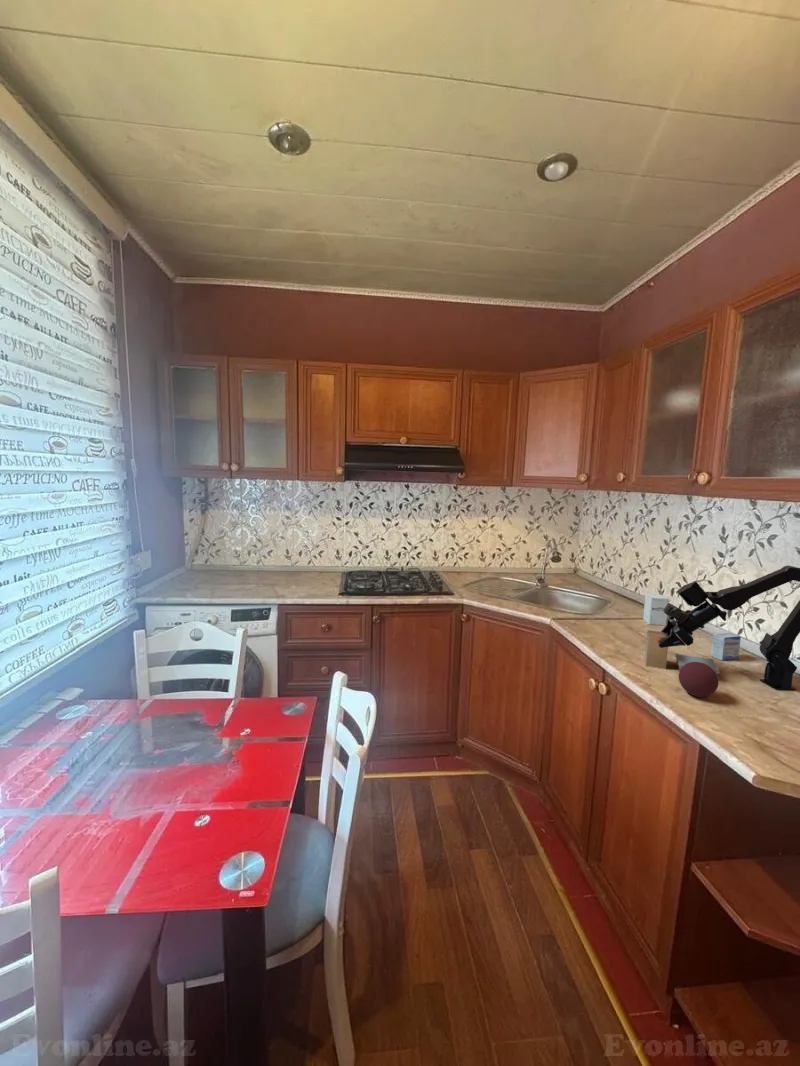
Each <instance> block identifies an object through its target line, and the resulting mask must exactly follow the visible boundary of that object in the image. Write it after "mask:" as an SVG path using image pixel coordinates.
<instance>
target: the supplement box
mask: <svg viewBox="0 0 800 1066" xmlns="http://www.w3.org/2000/svg"><path fill="white" fill-rule="evenodd" d="M669 601H670V598H668V597H667V596H665V595H664V594H656V593H655V594H654V593H645V597H644V605H643V617H642V620H643V621H644V623H645V622H647V623H646V624H647V625H652V626H653V625H655V626H656V625H657V626H664V625H667V618H668V615H667V614H665V613H664V611H663V610H664V608H665V607H666V606H667V604H668V603H670V602H669Z"/></svg>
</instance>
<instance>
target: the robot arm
mask: <svg viewBox="0 0 800 1066" xmlns="http://www.w3.org/2000/svg"><path fill="white" fill-rule="evenodd" d="M792 581H795V582H799V583H800V567H797V566H796V567H795V566H793V565H785V566H783V567H781V568H779V569H777V570H774V571H771V572H770V573H768V574H766V575H763V576H761V577H759V578H756V579H754V580H751V581H749V582H747V583H744V584H742V585H741V584H740V585H736V586H730V587H727V588H722V589H719V590H717V591H705V590H704V589H703V588H702V587H701V585H700V584H699V583H698V582H697V580H694V581H692V582H690V583H687V584H684V585H683V586H681V587H680V588H679V589H678V590H677V591H676V593H677V594H678V595H679V596H680V597H681V598H682V599H683V600H684V601H685V602H686V604H687V605H688V606H690V607H692V606H693V607H695V608H693V609H691V610H690V609H687V610H685V611H684V610H683V609H682V608H679V607H678V606H676V605H674V604H672V603H670V602H668V604H667V606H666V607H665V608H664V610H663V611H664V613H665V614H667V620H666V626H664V627H663V628H662V630H661V631H660V632H665V633H667V634H668V637H667V638H666V639H665V640H663V641H662V642H661V643H660V644H659V647H660V648H663V647H668V648H669V647H681V646H683V647H686V646H687V647H689V646H691V645H693V644H694V638H693V636H694V633H693V632H695V631H697V630H698V629H704V628H705V626H706V625H707V624H708V623H710V622H711V621H713V620H715V619H717V618H718V617H720V618H721V619H722V620H723V621H724V622H725V621H727V614H728V612H727V611H729V612H730V611H734V610H736V609H738V608H740V607H741V606H743V605H744V604H746V603H747V602H748V601H749V600H750V599H752V598H754V597H756V596H758V595H761V594H763V593H765V592H768V591H771V590H773V589H775V588H778V587H779V586H783V585H784V584H788V583H790V582H792ZM707 599H708V600H707ZM709 601H710V602H711V603H712V604H711V603H710V602H709ZM719 607H720V608H719ZM722 609H723V610H722ZM764 634H765V635H764V636H763V638H762V640H760V641H759V642H758V643H759V644H760V645H759V651H760V653H761V654H762V655H763V657H764V659H766V661H767V662H766V666H765V668H764V675H763V676H764V677H763V678H760V679H759V681H760V682H761V683H764V684H766V685H767V686H769V687H771V688H772V689H775V690H779V691H781V690H782V691H785V690H787V691H789V690H796V691H797V687H795V686H794V685H792V684H793V676H794V673H796V671H797V670H798V667H797V666H796V664H795V663H794V662H792V661H791V660H790V657H791V654H792V652H793V646H794V642H795V640H796V638H797V637H798V636H799V635H800V599H799V600H798V602H797V604H795V606H794V607H793V608H792V610H791V612H790V613H789V614H788V616H787V617H786V619H785V620H784V622H783V623H782V625H780V627H779V629H778V630H777V631H776V632H775V633H773V634H769V633H768V632H766V633H764Z"/></svg>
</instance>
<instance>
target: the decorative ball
mask: <svg viewBox="0 0 800 1066" xmlns="http://www.w3.org/2000/svg"><path fill="white" fill-rule="evenodd" d="M678 671H679V670H678ZM678 681H679V684H680V686H681V687H682V688H683V689H684V690H685V691H686V692H687V693H688V694H691V695H692V696H695V697H698V698H699V697H701V698H703V697H704V698H705V697H709V696H711V695H712V694H714V693H715V692H716V691H717V689H718V688H719V676H718V674H716V673H715V671H714V670H713V669H712V668H711V667H710V666H708V665H706V664H704V663H701V662H690V663H687V664H685V665H684V666H683V667H682V668H681V669H680V671H679V672H678Z"/></svg>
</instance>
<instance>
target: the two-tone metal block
mask: <svg viewBox="0 0 800 1066" xmlns="http://www.w3.org/2000/svg"><path fill="white" fill-rule="evenodd" d="M646 632H647V633H646V644H645V655H644V662H645V667H652V668H656V667H657V669H662V668H663V669H662V670H666V669H667V661H668V652H669V651H668V650H669V647H663V648H660V647H659V644H660V643H661V642H662V641H663V640H665V639H666V638H667V637H668V634H667V633H665V632H661V631H656V630H651V629H649V630H648V629H647V631H646Z"/></svg>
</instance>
